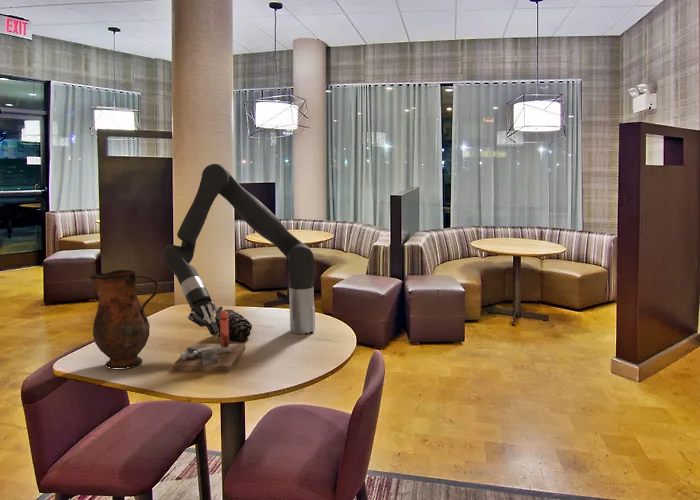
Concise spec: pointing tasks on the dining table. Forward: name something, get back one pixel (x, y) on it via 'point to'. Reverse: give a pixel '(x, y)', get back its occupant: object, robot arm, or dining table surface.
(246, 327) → the pine cone
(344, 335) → the dining table surface
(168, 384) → the dining table surface
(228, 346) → the lever
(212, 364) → the base
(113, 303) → the pitcher
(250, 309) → the dining table surface
